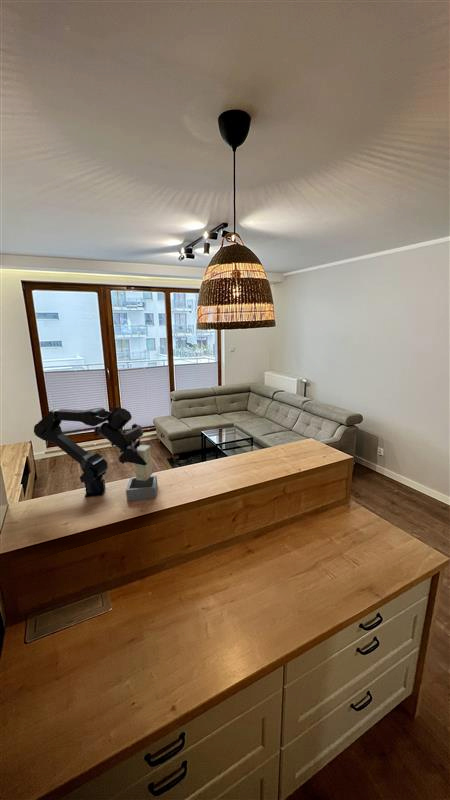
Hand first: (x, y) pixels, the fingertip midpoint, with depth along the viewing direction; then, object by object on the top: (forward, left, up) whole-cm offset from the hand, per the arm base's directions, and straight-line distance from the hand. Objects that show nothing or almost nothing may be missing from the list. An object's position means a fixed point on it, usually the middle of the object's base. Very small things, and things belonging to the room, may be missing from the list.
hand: (146, 460), depth 124 cm
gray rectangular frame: (-2, -1, -13) cm, 13 cm away
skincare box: (-1, 0, -7) cm, 7 cm away
